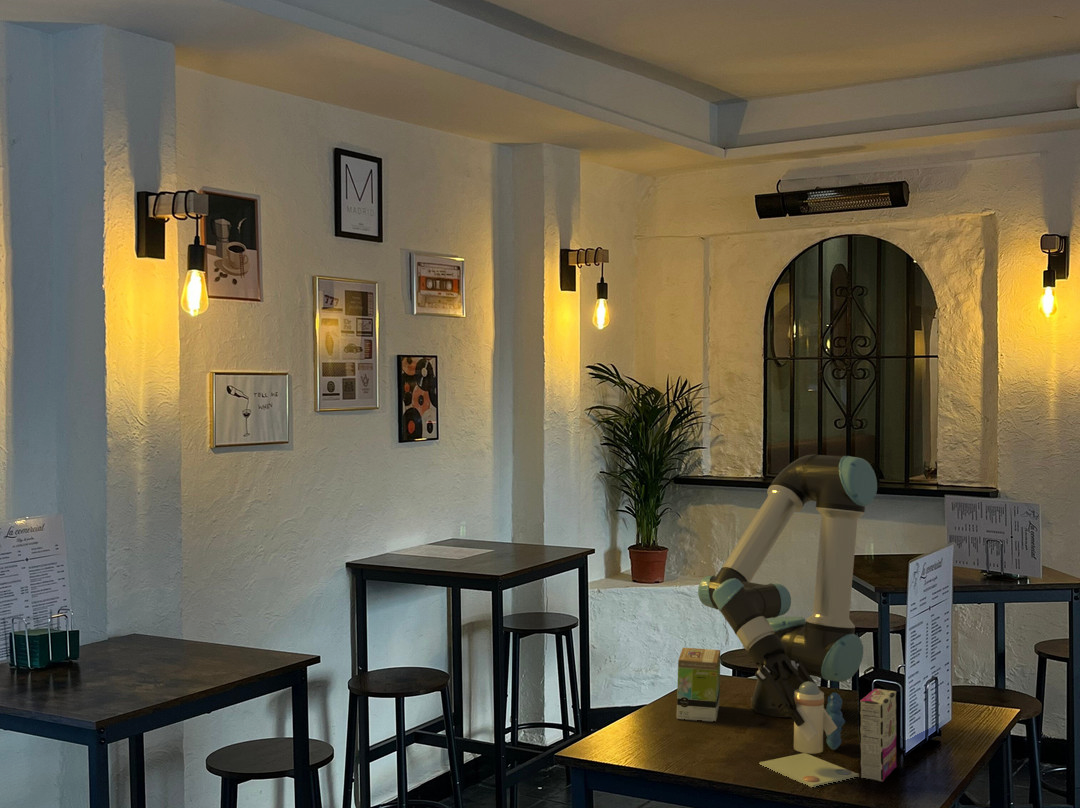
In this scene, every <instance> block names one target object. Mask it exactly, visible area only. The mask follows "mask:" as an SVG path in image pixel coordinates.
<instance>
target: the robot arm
mask: <svg viewBox="0 0 1080 808" xmlns="http://www.w3.org/2000/svg"><path fill="white" fill-rule="evenodd" d="M877 491H878V480H877V476H876V472H875V470H874V468H873V467H872V465H871V464H870V462H868V461H867V460H866V459H865V458H862V457H857V456H851V455H829V454H828V455H825V454H824V455H823V454H815V453H814V454H806V455H803V456H801V457H798V458H797V459H795V460H794V461H792V462H791V463H790V464H788V465H787V466H786V467H785V468H783V469H782V470H781V471H780V472H779V473H778V474H777V476H776V477H775V478H774V479H773V481H772V482H771V483H770V484H769V486H768V489H767V491H766V492H767V493H766V494H767V497H766V499H765V500H764V502H763V503H762V505H761V506H760V508H759V509H758V511H757V513H756V514H755V516H754V517H753V518H752V520H751V522H750V523H749V524H748V527H747V528H746V529H745V531H744V533H743V534H742V535H741V537H740V539H739V540H738V542H737V544H736V545H735V546H734V548H733V549H732V551H731V552H730V554H729V555H728V557H727V558H726V559H725V562H724V563H723V565H722V566H721V567H720V570H719V571H718V573H717V574H716V575H707V576H705V577H703V578H702V579H701V581H700V583H699V585H698V588H697V595H698V599H699V601H700V602H701V604H702V605H704V606H705V607H707V608H711V609H715V610H718V611H719V612H720V613H721V614H722V616H723V617H724V619H725V620H726V622H727V623H728V624H729V626H730V627H731V629H732V630H733V632H734V634H735V635H736V636H737V638H738V639H739V641H740V643H741V644H742V647H744V650H746V651H748V652H747V653H748V654H747V655H749V657H750V660H752V662H753V663H754V665H755V666H756V667H757V669H758V670H757V671H756V672H755V674H754V676H755V677H756V678H757V680H756V682H755V687H754V690H753V693H752V696H751V698H750V709H751V710H754V711H753V712H755V713H758V714H761V715H764V716H770V717H776V718H791V719H792V720H793V723H794V722H795V724H796V725H797V726H798V727H799V728H800V730H801V731H802V733H803V734H804V736H805V737H806V739H807V740H808V741H811V740H812V739H813V738H814V737H815V736H816V735H818V733H817V731H816V730H815V728H814V727H813V725H812V724H811V722H810V721H809V719H808V718H807V716H806V715H805V713H804V712H803V710H802V709H801V707H798V708H797V709H796V707H797V706H796V704H795V701H794V691H795V690H797V689H799V687H800V685H801V684H802V683H804V682H807V681H810V682H813V683H815V684H816V685H817V683H816V682H815V681H814V679H813V678H812V677H817V678H820V679H823V680H825V681H834V682H838V683H839V682H841V683H842V682H847V681H848V680H850V679H852V678H853V677H854V676H855V674H856V673H857V671H858V670H859V669H860V666H861V664H862V661H863V658H864V645H863V643H862V642H863V641H862V640H861V638H860V637H859V636H858V635H857V634H855V631H856V630H855V629H856V626H855V624H854V623H853V622H852V620H851V619H850V613H851V612H850V610H851V601H852V600H851V598H852V591H853V590H852V588H853V587H852V585H853V575H854V565H855V552H856V551H855V550H856V542H857V531H858V530H857V529H858V520H859V518H862V516H863V515H865V512H866V507H867V506H870V505H871V504H872V503H873V502H874V499H875V498H876V496H877V493H878V492H877ZM809 502H815V510H816V511H817V512H818V513H819V514H820V517H821V519H820V527H819V528H820V529H819V540H818V549H817V550H818V552H817V562H816V563H817V564H816V573H815V574H816V576H815V586H814V596H813V597H814V599H813V609H812V614H811V615H810V616H808V617H807V618H805V617H802V616H783V615H785V614H786V613H788V612H789V611H790V608H791V605H792V597H791V594H790V591H789V590H788V588H787V587H786V586H785V585H783V584H780V583H768V584H762V583H756V582H751V581H752V580H753V578H754V577H755V575H756V573H757V571H758V570H759V569H760V568H761V566H762V564H763V562H764V561H765V559H766V557H767V556H768V554H769V553H770V552H771V550H772V548H773V547H774V545H775V543H776V542H777V541H778V539H779V538H780V535H781V534H782V533H783V531H784V529H785V528H786V526H787V525H788V523H789V521H790V520H791V518H793V515H794V514H795V513H798V512H800V511H802V509H803V507H804V506H805V504H807V503H809ZM818 688H819V690H820V691H822V689H820V687H819V686H818ZM836 729H837V726H836V725H835V723H834V722H833V721H832V719H831V718H830V716H829V714H828V712H827V711H826V708H825V707H824V712H823V732H825V735H826V734H827V735H830V734H831V733H832V732H834V731H835V730H836Z"/></svg>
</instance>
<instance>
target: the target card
mask: <svg viewBox="0 0 1080 808" xmlns="http://www.w3.org/2000/svg"><path fill="white" fill-rule="evenodd" d="M759 764H760V765H762V766H761V767H763V766H764V767H763V768H765V767H767V768H769V769H768V770H770V769H771V770H770V771H772V770H773V771H772V772H774V771H775V772H774V773H777V772H778V773H777V774H779V773H780V774H779V775H781V774H782V776H784V777H786V776H787V777H786V778H788V777H789V778H788V779H791V780H794V781H795V780H796V782H799V783H801V784H802V783H803V785H805V784H806V785H805V786H807V785H808V787H809V788H812V787H814V788H817V787H816V786H819V785H823V786H825V785H824V784H827V785H829V784H828V783H832V784H834V783H833V782H836V783H839V782H838V781H840V782H843V781H842V780H845V781H847V780H846V779H849V780H851V779H850V778H853V779H855V778H854V777H858V778H860V773H857V772H854V771H852V770H850V769H847V768H844V767H842V766H840V765H837V764H834V763H831V762H829V761H826V760H824V759H822V758H819V757H816V756H813V755H811V754H810V753H802V752H801V753H797V754H793V755H788V756H783V757H779V758H774V759H768V760H765V761H759ZM760 765H759V766H760ZM767 768H766V769H767ZM819 787H820V786H819Z"/></svg>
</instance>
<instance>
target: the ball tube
mask: <svg viewBox="0 0 1080 808" xmlns="http://www.w3.org/2000/svg"><path fill="white" fill-rule="evenodd" d="M815 683H816V682H815ZM815 683H813V682H810V681H807V682H804V683H802V684H801V685H800V687H799V689H797V690H795V691H794V701H795V704H796V706H797V707H796V709H797V708H798V707H801V709H802V710H803V712H804V713H805V715H806V716H807V718H808V719H809V721H810V722H811V724H812V725H813V727H814V728H815V730H816V731H817V733H818V735H816V736H815V737H814V738H813V739H812V740H811V741H808V740H807V739H806V737H805V736H804V734H803V733H802V731H801V730H800V728H799V727H798V726H797V725H796V724H795V722H794V721H793V750H795V751H796V752H800V753H801V754H802V753H806V754H810V755H811V754H813V755H814V754H820V753H822V752H823V751H824V729H823V712H824V708H825V705H824V704H825V693H824V692H823V691H822V690H821V689H820V687H819V686H818V684H817V683H816V684H815ZM818 687H819V688H818ZM819 689H820V690H821V691H820V690H819Z"/></svg>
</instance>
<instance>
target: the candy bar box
mask: <svg viewBox="0 0 1080 808" xmlns="http://www.w3.org/2000/svg"><path fill="white" fill-rule="evenodd" d="M859 717H860V718H859V723H860V725H859V728H860V729H859V734H860V736H859V737H860V738H859V740H860V745H859V746H860V752H859V753H860V772H859V773H860V778H861V779H863V778H866V779H865V780H868V779H870V780H869V781H876V782H882V783H883V782H884V781H885V780H886V779H887V778H888V777H889V775H891V773H893V771H895V769H896V768H897V691H896V690H889V689H881V688H874V689H872V691H870V692H869V693H868V694H867V695H866V696H864V697H863V698H862V699H860V701H859Z"/></svg>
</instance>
